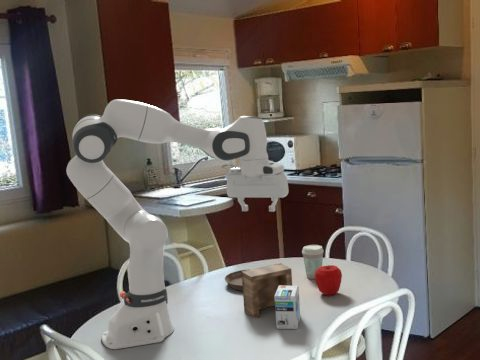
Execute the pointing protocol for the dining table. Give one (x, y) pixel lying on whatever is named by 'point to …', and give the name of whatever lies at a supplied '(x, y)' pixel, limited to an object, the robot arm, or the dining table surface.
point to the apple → (328, 279)
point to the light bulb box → (287, 307)
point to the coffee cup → (312, 259)
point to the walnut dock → (263, 286)
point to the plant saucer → (235, 280)
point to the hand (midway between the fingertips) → (258, 211)
